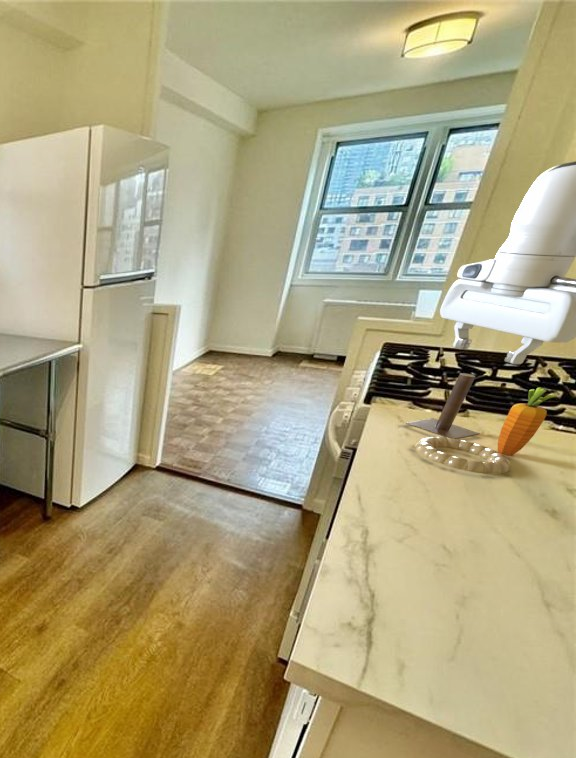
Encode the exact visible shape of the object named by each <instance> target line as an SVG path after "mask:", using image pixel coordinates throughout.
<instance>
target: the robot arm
mask: <svg viewBox="0 0 576 758" xmlns="http://www.w3.org/2000/svg"><path fill="white" fill-rule="evenodd" d="M575 259H576V160H575V161H570V162H565V163H560V164H557V165H555V166H553V167H550V168H548V169H547V170H545V171H544V172H542V173H541V174H540V175H539V176H538V177H537V178H536V179H535V181H533V183H532V185H531V186H530V188H529V189H528V191H527V192H526V194H525V196H524V198H523V200H522V202H521V203H520V205H519V208H518V209H517V211H516V213H515V215H514V217H513V220H512V222H511V225H510V232H509V235H508V237H507V239H506V240H505V242H504V243H503V244H502V245H501V247H500V248H499V249H498V251H497V253H496V255H495V258H492V259H486V260H483V261H478V262H474V263H468V264H463V265H462V266H460V267H459V269H458V271H457V275H456V276H457V278H458V279H457V280H455V281H454V282H453V283H452V285H451V286H450V287H449V289H448V291H447V293H446V294H445V297H444V298H443V301H442V304H441V306H440V309H439V314H440V315H439V316H440V317H441V318H442V319H445V320H449V321H453V322H455V323H454V326H453V329H454V337H455V339H454V341H453V343H452V347H453V348H455V349H458V350H468V349H469V348H470V346H471V344H472V342H473V339H470V338H469V335H470V334H469V330H471V329H473V328H474V326H476V327H481V328H484V329H489V330H494V331H497V332H503V333H507V334H511V335H516V336H520V337H522V339H521V340H520V344H521V346H520V347H519V348H517V349H516V350H515V351H508V352H507V354H506V357H504V362H505V363H509V364H511V365H521V364H523V363H524V361H525V360H526V358H527V356H528V355H529V354H531V353H532V352H534V351H535V350H537V349H538V348H540V347H541V346H542V345H543V343H544V342H547V343H558V344H559V343H568V342H569V343H570V342H571V341H572V340H574V339H576V278H570V277H566V276H567V275H568V273H569V270H570V268H571V267H572V265H573V263H574V262H575ZM522 344H523V345H522Z"/></svg>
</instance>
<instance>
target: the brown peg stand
mask: <svg viewBox="0 0 576 758" xmlns="http://www.w3.org/2000/svg"><path fill="white" fill-rule="evenodd" d="M475 378H476V375H474V374H470V373H465V372H463V373H462V372H461V373H459V375H458V377H457V379H456V381H455V383H454V385H453V387H452V389H451V392H450V394H449V395H448V398H447V400H446V402H445V404H444V407H443V408H442V411H441V413H440V414H439V417H438V419H437V418H434V417H430V418H425V419H420V420H419V419H418V420H413V421H409V422H405V424H406V425H409V426H411V427H415V428H418V429H421V430H422V431H427V432H430V433H432V434H435V435H437V436H440V437H446V438H453V439H463V438H468V437H472V436H477V435H480V432H477V431H474V430H472V429H471V430H470V429H468V428H465V427H462V426H458V425H456V424H454V422H455V420H456V418H457V415H458V413H459V411H460V409H461V406H463V403H464V401H465V399H466V397H467V395H468V393H469V391H470V389H471V387H472V384H473V382H474V380H475Z"/></svg>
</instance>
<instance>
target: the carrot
mask: <svg viewBox="0 0 576 758" xmlns="http://www.w3.org/2000/svg"><path fill="white" fill-rule="evenodd" d="M545 393H547V389H545V388H544V387H537V388H536V389H534V388H532V389H529V390H528V394H527V403H523V402H522V403H515V404H513V405H512V407H510V409H509V411H508V413H507V416H506V417H505V420H504V422H503V425H502V426H501V429H500V432H499V435H498V441H497V452H498V453H501V454H502V455H504V456H507V457H509V456H510V457H512V456H514V455H515V454H517V453H518V452H520V451H521V450H522V449H523V448H524V447H525V446H526V445H527V444H528V443H529V442H530V441H531V439H533V437H534V436H535V434H536V433H537V432H538V430H539V428H540V427H541V426H542V424H543V422H544V420H545V419H546V418H547V414H548V413H547V412H548V411H547V410H546V408H544V407H542V406H539V405H540V404H541V403H543V402H545V401H546V400H549V399H553V398H557V397H558V395H557V394H556V393H553V394H547V395H546V396H542V395H544V394H545Z"/></svg>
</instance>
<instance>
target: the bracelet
mask: <svg viewBox="0 0 576 758" xmlns="http://www.w3.org/2000/svg"><path fill="white" fill-rule="evenodd" d="M438 448H449V449H454V450H455V449H457V450H460V451H464V452H468V453H471V454H474V455H477V456H479V457H481V458H483V459H485V460H486V461H479V460H478V461H477V460H471V459H466V458H462V457H458V456H454V455H451V454H449V453H446V452H443V451H440V450H439V449H438ZM414 449H415V450H416V452H418V453H419V454H420V455H422V456H424V457H426V458H428V459H429V460H432V461H434V462H437V463H439V464H442V465H445V466H448V467H452V468H455V469H459V470H463V471H467V472H472V473H473V472H474V473H478V474H479V473H480V474H491V475H492V474H493V475H495V474H498V475H499V474H504V473H508V472H509V471H510V469H511V466H512V465H511V461H510V460H509V459H508V458H507V457H506V455H503V454H501V453H498V451H496V450H495V449H492V448H490V447H488V446H485V445H482V444H479V443H475V442H471V441H467V440H463V439H460V438H458V439H453V438H446V437H443V436H430V437H425V438H420V439H419V440H417V442H416V443H415V445H414Z"/></svg>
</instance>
